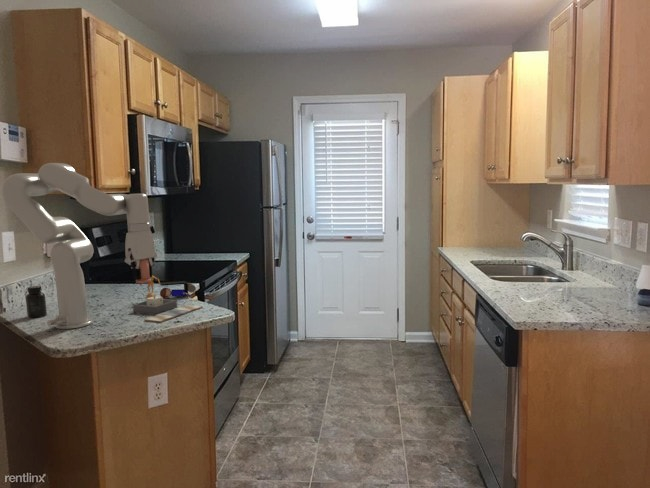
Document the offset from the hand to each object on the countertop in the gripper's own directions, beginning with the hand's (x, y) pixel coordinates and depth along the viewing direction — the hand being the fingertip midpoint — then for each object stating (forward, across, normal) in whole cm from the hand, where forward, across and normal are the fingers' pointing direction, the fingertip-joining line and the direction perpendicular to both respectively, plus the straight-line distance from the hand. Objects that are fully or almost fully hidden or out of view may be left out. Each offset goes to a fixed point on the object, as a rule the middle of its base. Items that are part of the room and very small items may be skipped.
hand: (143, 277), depth 190 cm
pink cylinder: (+2, 0, 0) cm, 2 cm away
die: (+17, -18, -14) cm, 28 cm away
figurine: (+18, -28, -27) cm, 43 cm away
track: (+17, -15, 0) cm, 23 cm away
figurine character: (+18, -40, -22) cm, 48 cm away
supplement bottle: (+17, +7, -53) cm, 56 cm away
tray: (+17, -18, -13) cm, 28 cm away
